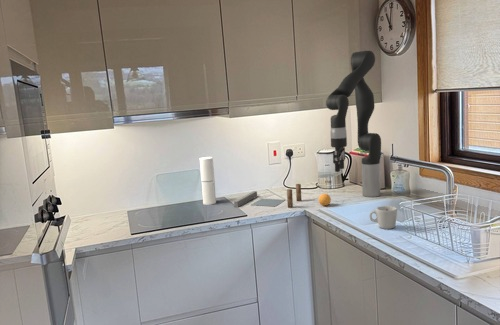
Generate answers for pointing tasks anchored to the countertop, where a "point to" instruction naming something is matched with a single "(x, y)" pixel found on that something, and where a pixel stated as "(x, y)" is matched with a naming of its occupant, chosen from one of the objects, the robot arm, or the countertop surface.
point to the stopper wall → (245, 199)
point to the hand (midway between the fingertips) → (339, 170)
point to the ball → (324, 199)
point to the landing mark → (268, 202)
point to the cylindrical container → (207, 180)
